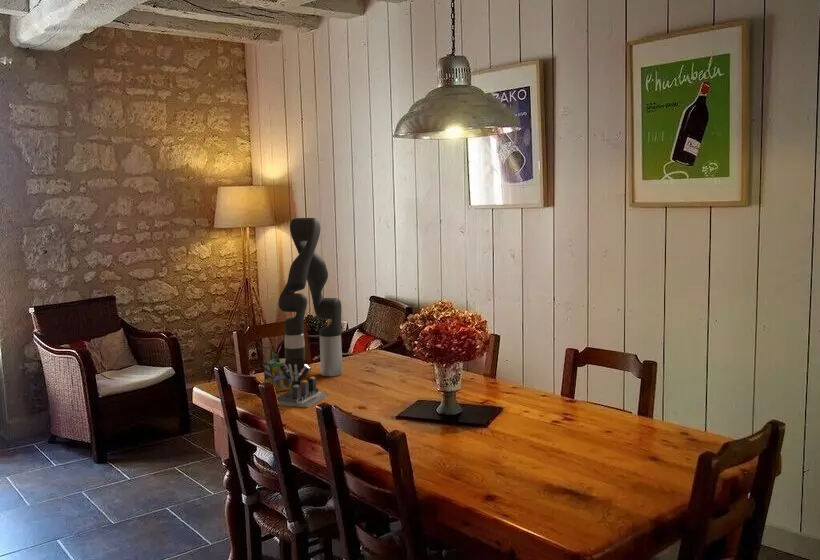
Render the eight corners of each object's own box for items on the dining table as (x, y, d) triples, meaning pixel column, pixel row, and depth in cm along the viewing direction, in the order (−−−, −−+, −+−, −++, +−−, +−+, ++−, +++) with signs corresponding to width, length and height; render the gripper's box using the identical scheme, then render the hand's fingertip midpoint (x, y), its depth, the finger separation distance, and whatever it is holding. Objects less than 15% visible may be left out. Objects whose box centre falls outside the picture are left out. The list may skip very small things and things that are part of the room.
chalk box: (294, 389, 298) (293, 353, 296) (273, 393, 293) (271, 356, 291) (284, 384, 306) (283, 349, 304) (264, 388, 301) (262, 352, 299)
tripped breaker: (304, 395, 283) (303, 379, 282) (308, 395, 282) (308, 380, 282) (301, 396, 281) (300, 381, 280) (305, 397, 280) (305, 381, 279)
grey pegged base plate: (294, 392, 293) (293, 374, 292) (328, 396, 287) (327, 377, 286) (271, 404, 278) (270, 384, 277) (306, 408, 272) (306, 388, 271)
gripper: (315, 344, 282) (316, 389, 284) (284, 342, 286) (286, 386, 289) (305, 348, 275) (306, 394, 277) (274, 346, 280) (276, 391, 282)
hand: (296, 390), depth 283 cm, fingers closed
